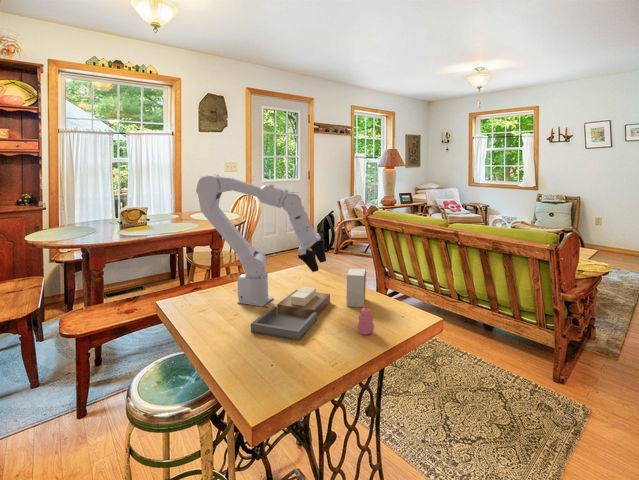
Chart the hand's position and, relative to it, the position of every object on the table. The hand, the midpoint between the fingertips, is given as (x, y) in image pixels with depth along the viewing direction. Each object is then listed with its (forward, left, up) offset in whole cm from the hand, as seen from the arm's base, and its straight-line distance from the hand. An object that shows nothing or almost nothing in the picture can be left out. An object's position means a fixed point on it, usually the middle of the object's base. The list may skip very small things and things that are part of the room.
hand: (319, 266), depth 119 cm
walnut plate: (-2, -8, -12) cm, 14 cm away
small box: (+12, +2, -12) cm, 17 cm away
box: (-2, -22, -12) cm, 25 cm away
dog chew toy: (+20, -18, -12) cm, 30 cm away
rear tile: (-2, -6, -9) cm, 11 cm away
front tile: (-2, -11, -9) cm, 14 cm away
